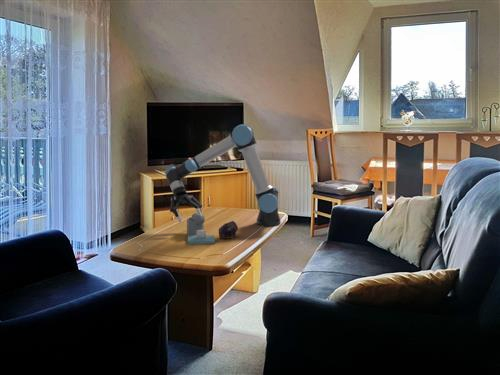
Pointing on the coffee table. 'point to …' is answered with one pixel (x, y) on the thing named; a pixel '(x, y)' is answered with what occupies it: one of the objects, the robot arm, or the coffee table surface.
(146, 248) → the coffee table surface
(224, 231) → the rock
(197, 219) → the elbow
